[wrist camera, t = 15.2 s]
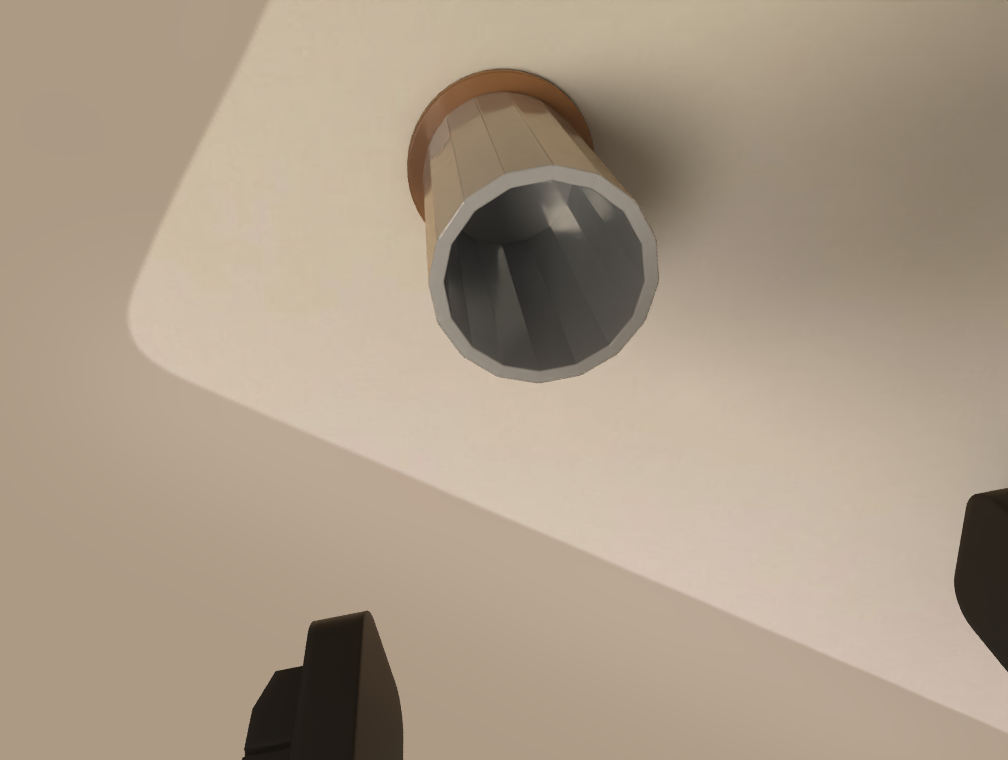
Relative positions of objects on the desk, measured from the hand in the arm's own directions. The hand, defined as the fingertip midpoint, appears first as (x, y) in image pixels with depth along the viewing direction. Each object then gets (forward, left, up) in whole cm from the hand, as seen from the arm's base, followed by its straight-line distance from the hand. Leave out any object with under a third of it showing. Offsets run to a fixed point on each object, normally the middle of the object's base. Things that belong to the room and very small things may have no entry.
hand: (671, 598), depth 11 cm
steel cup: (0, 0, -22) cm, 23 cm away
